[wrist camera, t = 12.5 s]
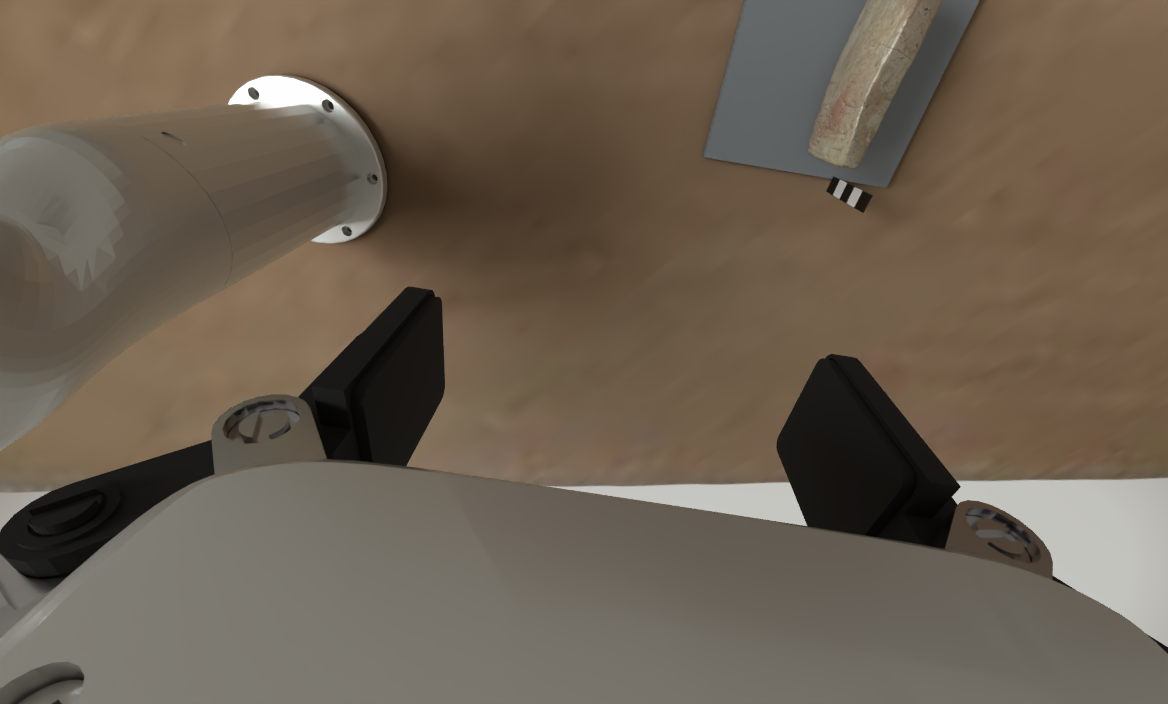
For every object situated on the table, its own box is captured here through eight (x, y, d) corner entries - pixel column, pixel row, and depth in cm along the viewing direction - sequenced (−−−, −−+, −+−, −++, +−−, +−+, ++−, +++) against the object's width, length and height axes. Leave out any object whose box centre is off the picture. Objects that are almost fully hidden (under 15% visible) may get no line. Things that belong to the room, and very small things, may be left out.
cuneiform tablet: (864, 213, 29) (987, -19, 23) (810, 201, 29) (918, -37, 23) (827, 191, 34) (919, -5, 28) (780, 181, 34) (862, -20, 27)
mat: (702, 155, 34) (704, 157, 34) (776, -119, 26) (780, -125, 25) (881, 185, 34) (886, 188, 34) (1010, -78, 26) (1020, -81, 26)
